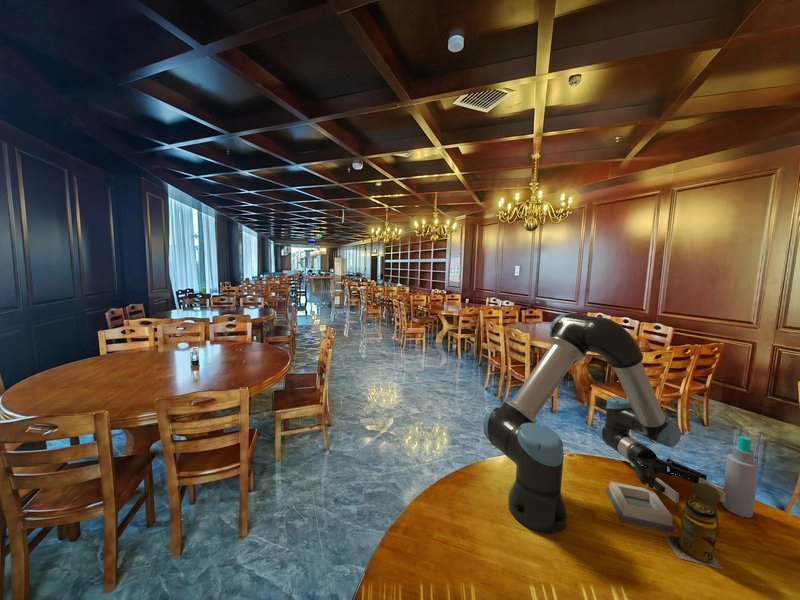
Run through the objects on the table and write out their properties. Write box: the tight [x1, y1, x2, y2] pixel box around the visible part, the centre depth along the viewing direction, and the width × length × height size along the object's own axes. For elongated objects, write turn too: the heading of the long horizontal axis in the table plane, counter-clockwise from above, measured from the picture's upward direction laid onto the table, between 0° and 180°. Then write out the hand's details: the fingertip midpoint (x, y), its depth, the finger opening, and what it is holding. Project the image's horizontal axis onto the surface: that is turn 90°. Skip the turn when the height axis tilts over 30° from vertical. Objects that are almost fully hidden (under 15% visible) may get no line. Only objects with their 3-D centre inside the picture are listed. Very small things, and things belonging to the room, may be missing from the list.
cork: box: [692, 483, 720, 535], centre depth 82 cm, size 6×6×11 cm
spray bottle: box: [721, 435, 760, 519], centre depth 87 cm, size 6×6×22 cm
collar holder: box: [606, 481, 676, 534], centre depth 87 cm, size 12×12×4 cm
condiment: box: [662, 498, 724, 569], centre depth 74 cm, size 7×8×12 cm
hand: (700, 498), depth 84 cm, fingers open, 13 cm apart
